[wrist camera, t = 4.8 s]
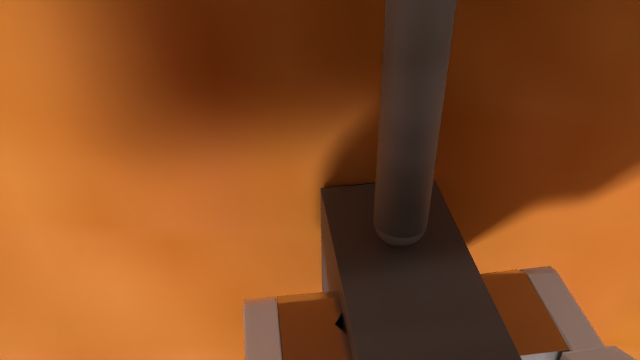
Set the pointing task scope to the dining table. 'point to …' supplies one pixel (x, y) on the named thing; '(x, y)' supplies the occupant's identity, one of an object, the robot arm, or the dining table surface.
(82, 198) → the dining table surface
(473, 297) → the hammer
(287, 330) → the robot arm
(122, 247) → the dining table surface
